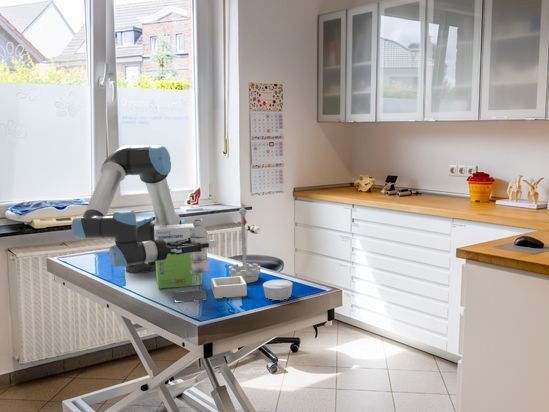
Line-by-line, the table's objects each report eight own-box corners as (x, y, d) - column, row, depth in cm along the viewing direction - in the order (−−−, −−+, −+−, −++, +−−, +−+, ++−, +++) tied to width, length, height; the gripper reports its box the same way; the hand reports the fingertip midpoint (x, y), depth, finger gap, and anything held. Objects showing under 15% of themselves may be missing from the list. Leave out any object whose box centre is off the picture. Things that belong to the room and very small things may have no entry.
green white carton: (198, 278, 246) (196, 222, 242) (202, 285, 236) (199, 226, 232) (156, 282, 241) (153, 225, 238) (158, 289, 231) (154, 229, 228)
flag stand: (225, 277, 247) (222, 207, 242) (254, 273, 251) (252, 204, 247) (234, 285, 235) (231, 211, 230) (265, 281, 239) (262, 209, 235)
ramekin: (270, 303, 210) (269, 289, 210) (258, 295, 220) (258, 281, 220) (298, 299, 215) (297, 285, 214) (285, 291, 225) (285, 277, 224)
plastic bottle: (191, 270, 224) (189, 219, 221) (209, 269, 224) (207, 218, 222) (191, 275, 217) (188, 222, 214) (209, 274, 218) (206, 221, 215)
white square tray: (215, 298, 218) (214, 286, 217) (211, 289, 229) (211, 278, 229) (246, 295, 220) (246, 284, 220) (241, 286, 232) (241, 275, 231)
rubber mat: (174, 302, 214) (174, 301, 214) (173, 293, 225) (173, 292, 225) (207, 300, 216) (207, 298, 216) (204, 290, 228) (204, 289, 228)
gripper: (144, 256, 218) (200, 247, 230) (164, 266, 202) (223, 256, 215) (143, 236, 217) (199, 228, 229) (163, 244, 201) (222, 236, 214)
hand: (211, 242), depth 222 cm, fingers closed on plastic bottle, 6 cm apart
